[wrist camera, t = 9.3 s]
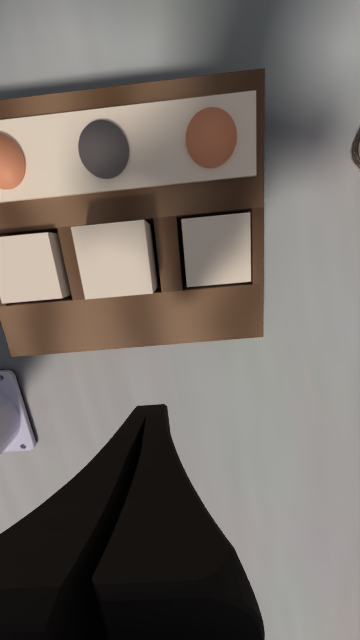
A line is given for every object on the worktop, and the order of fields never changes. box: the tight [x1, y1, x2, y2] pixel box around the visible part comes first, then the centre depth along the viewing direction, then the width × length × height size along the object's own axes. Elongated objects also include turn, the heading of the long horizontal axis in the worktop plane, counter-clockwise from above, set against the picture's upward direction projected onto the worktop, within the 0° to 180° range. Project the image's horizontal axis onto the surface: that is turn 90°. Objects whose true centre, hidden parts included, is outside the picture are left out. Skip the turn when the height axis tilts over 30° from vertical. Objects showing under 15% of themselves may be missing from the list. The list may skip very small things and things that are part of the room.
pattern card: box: [0, 90, 256, 203], centre depth 14 cm, size 17×4×1 cm, turn 95°
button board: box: [0, 68, 265, 357], centre depth 16 cm, size 18×15×2 cm
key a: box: [0, 232, 72, 304], centre depth 16 cm, size 4×4×3 cm
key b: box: [71, 220, 158, 300], centre depth 15 cm, size 4×4×3 cm
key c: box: [181, 212, 251, 287], centre depth 16 cm, size 4×4×3 cm
